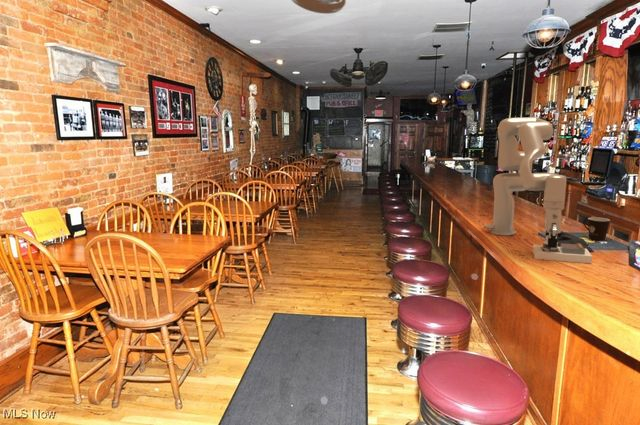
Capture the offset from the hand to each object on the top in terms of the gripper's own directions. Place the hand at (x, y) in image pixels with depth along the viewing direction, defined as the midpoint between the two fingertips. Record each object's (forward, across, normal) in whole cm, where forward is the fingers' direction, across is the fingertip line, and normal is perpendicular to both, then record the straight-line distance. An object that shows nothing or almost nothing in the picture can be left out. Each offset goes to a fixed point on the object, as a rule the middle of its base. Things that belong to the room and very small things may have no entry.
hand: (550, 244), depth 166 cm
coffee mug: (+6, +36, -23) cm, 43 cm away
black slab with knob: (+6, +21, -10) cm, 24 cm away
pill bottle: (+6, 0, 0) cm, 6 cm away
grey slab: (+2, 0, -8) cm, 8 cm away
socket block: (+5, 0, -4) cm, 7 cm away
